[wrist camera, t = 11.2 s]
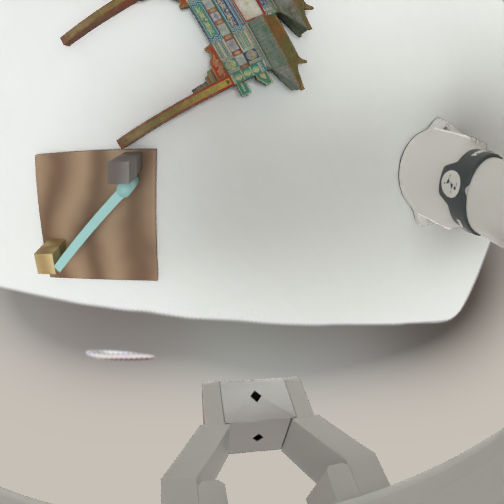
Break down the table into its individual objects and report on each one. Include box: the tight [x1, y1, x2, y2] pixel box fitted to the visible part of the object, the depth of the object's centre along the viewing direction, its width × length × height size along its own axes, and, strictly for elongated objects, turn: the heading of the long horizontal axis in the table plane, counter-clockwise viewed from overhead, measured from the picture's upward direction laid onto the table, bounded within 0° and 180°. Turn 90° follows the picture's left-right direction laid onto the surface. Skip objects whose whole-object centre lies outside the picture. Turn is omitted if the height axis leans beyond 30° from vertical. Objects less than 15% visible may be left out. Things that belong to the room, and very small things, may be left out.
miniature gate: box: [61, 0, 314, 149], centre depth 30 cm, size 27×6×30 cm
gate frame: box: [34, 149, 158, 281], centre depth 36 cm, size 18×19×9 cm
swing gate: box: [54, 175, 139, 272], centre depth 37 cm, size 2×16×5 cm, turn 130°
